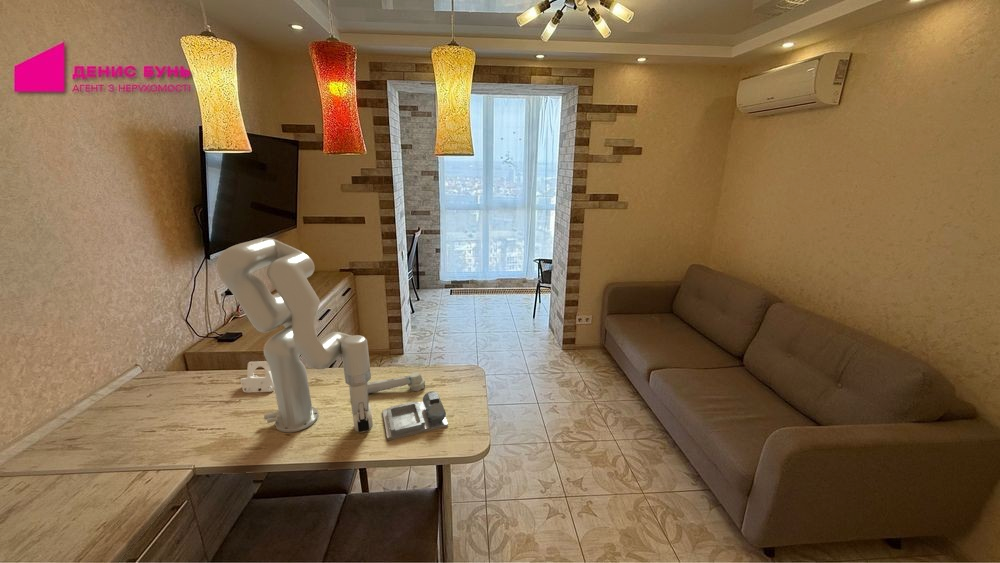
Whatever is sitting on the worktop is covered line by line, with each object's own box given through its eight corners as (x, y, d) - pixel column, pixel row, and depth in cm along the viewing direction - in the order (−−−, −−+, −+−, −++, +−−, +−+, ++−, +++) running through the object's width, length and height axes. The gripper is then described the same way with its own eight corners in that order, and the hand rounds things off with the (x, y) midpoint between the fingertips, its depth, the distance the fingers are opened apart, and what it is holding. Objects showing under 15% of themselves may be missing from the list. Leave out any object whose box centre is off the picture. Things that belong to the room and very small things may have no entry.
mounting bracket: (280, 389, 149) (281, 360, 150) (272, 391, 143) (273, 362, 144) (247, 390, 148) (248, 361, 149) (238, 393, 142) (239, 363, 143)
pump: (354, 434, 122) (352, 411, 120) (354, 423, 127) (351, 401, 125) (373, 430, 124) (371, 408, 122) (372, 419, 129) (369, 398, 127)
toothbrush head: (354, 382, 144) (422, 367, 148) (359, 397, 146) (425, 381, 150) (353, 390, 139) (423, 374, 143) (357, 405, 141) (426, 389, 145)
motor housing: (387, 440, 120) (385, 418, 117) (382, 412, 133) (380, 391, 130) (447, 426, 126) (447, 404, 124) (437, 400, 140) (436, 380, 137)
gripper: (344, 364, 126) (350, 411, 132) (345, 392, 111) (351, 444, 117) (368, 360, 129) (373, 406, 134) (372, 387, 114) (377, 438, 119)
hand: (363, 423), depth 125 cm, fingers closed on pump, 5 cm apart
